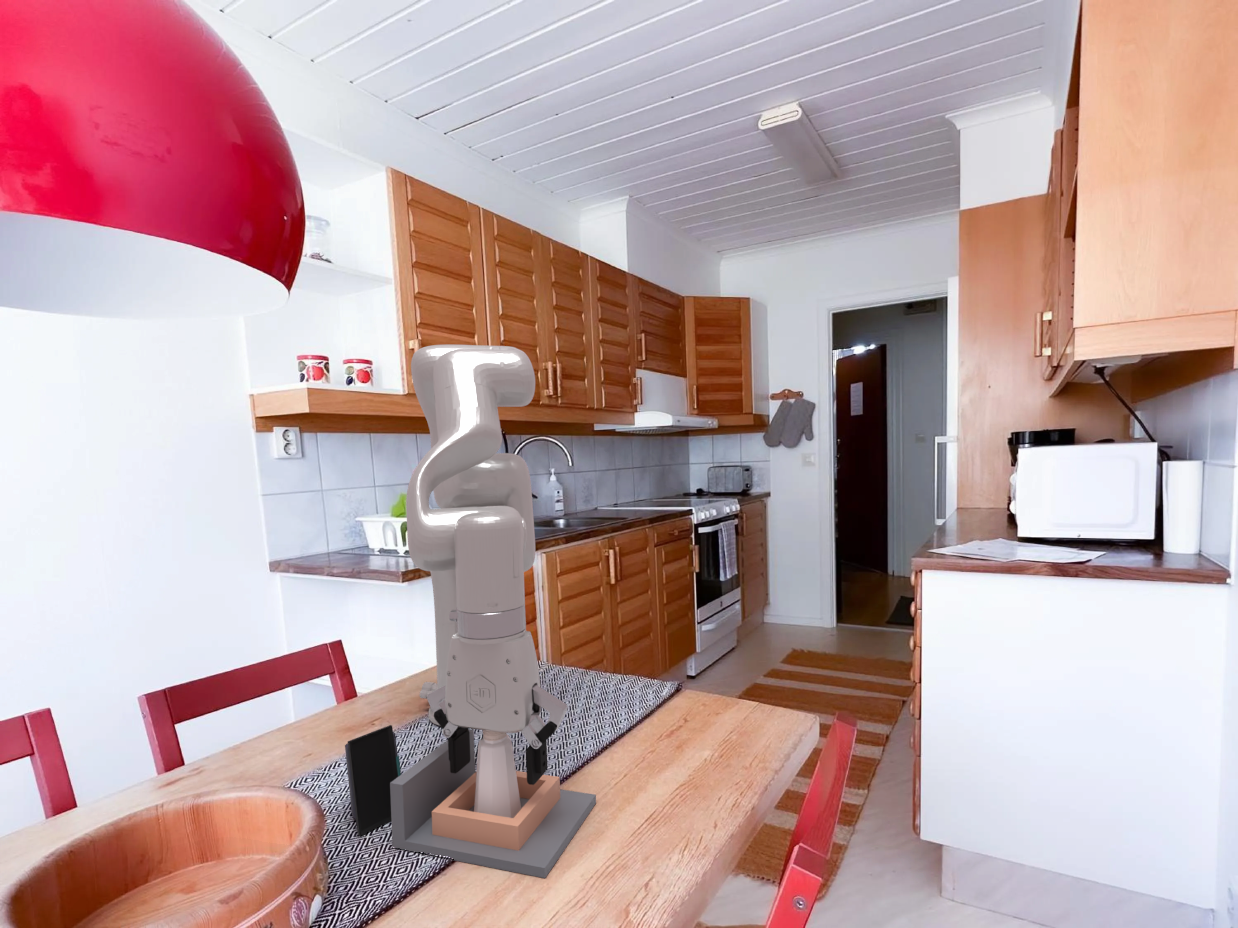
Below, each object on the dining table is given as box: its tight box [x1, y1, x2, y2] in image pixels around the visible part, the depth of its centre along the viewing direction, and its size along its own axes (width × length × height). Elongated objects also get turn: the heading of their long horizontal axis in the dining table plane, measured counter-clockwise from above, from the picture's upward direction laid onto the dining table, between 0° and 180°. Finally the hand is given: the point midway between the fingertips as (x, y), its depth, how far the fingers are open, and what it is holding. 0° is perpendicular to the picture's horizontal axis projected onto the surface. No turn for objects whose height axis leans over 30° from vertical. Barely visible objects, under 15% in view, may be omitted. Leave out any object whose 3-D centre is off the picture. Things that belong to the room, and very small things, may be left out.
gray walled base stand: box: [390, 728, 597, 879], centre depth 71 cm, size 18×14×7 cm
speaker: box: [344, 724, 402, 837], centre depth 75 cm, size 8×6×10 cm
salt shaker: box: [474, 730, 521, 818], centre depth 72 cm, size 5×5×11 cm
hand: (497, 772), depth 71 cm, fingers open, 9 cm apart
